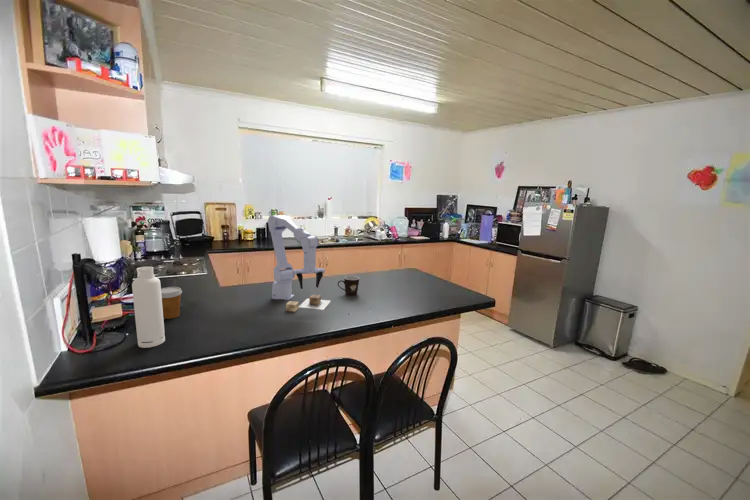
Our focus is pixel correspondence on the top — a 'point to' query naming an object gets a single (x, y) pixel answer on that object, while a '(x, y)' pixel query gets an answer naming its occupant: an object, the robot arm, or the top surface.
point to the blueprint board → (320, 306)
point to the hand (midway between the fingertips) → (309, 287)
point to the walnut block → (315, 300)
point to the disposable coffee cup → (171, 302)
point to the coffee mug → (350, 285)
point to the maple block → (292, 306)
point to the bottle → (148, 308)
